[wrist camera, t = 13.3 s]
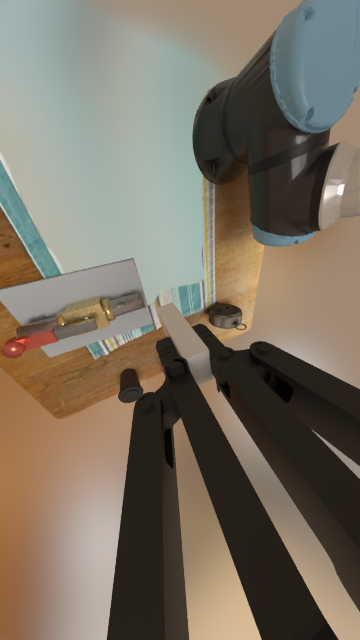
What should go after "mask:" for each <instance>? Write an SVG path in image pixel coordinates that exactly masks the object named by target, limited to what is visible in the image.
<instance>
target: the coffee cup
mask: <svg viewBox="0 0 360 640" xmlns="http://www.w3.org/2000/svg"><path fill="white" fill-rule="evenodd" d="M142 394H143V388H142V387H141V386H140V383H139V380H138V377H137V374H136V372H135V370H134V369H126V370H124V371H123V372H122V373H121V381H120V392H119V395H118V398H119V400H120V401H122V402H124V403H131V402H134V401H136V400H138V398H139V397H140V396H142Z"/></svg>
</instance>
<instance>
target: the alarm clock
mask: <svg viewBox="0 0 360 640" xmlns="http://www.w3.org/2000/svg"><path fill="white" fill-rule="evenodd" d="M215 303H216V304H217V305H215V306H213V307H211V308H210V310H209V312H206V311H205V313H207V314H209V322H210V323H211V324H212V325H213V326H216V327H219V328H224V329H230V328H236V329H238V328H237V326H239V325H240V324H241V319H242V311H241V309H240V308H238V307H237V306H234V305H230V304H218V303H217V302H215ZM242 325H244V326H245V327H246V328H247V326H246V325H245V324H242ZM246 328H245V329H246ZM245 329H238V330H245Z"/></svg>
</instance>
